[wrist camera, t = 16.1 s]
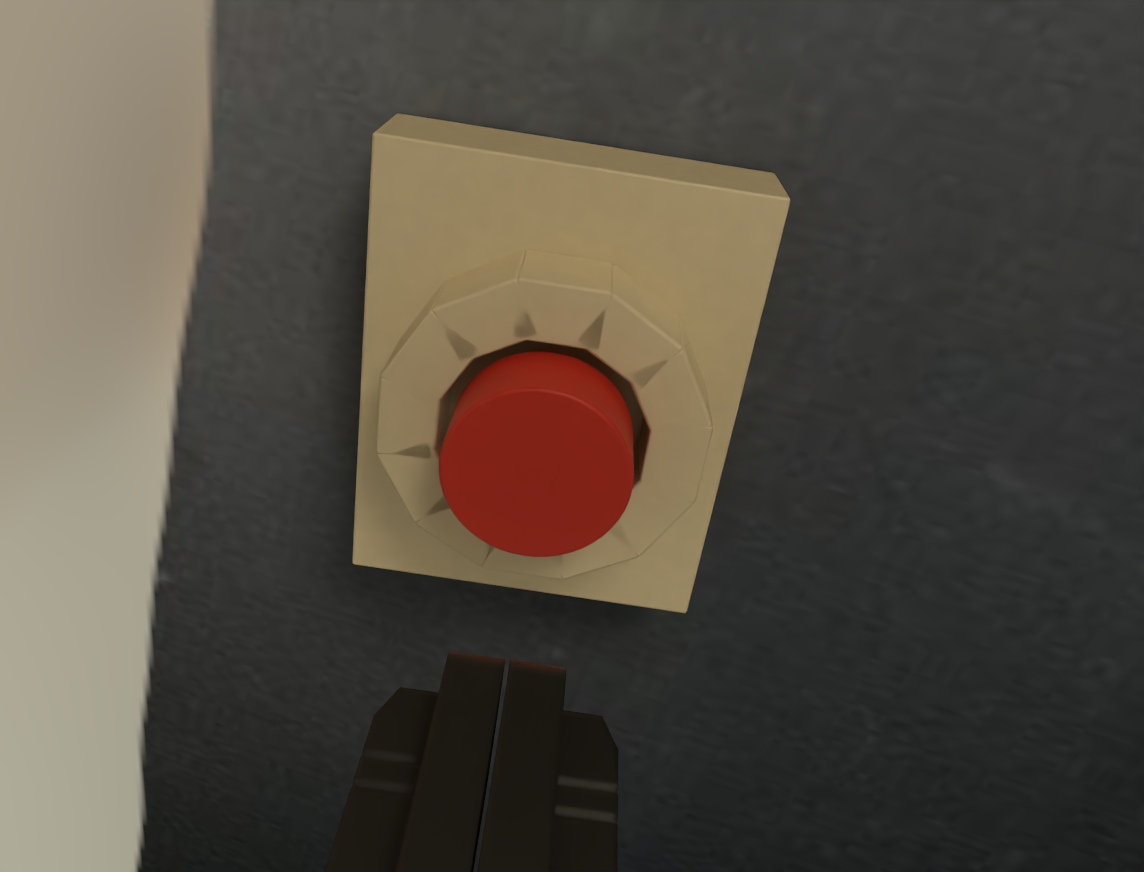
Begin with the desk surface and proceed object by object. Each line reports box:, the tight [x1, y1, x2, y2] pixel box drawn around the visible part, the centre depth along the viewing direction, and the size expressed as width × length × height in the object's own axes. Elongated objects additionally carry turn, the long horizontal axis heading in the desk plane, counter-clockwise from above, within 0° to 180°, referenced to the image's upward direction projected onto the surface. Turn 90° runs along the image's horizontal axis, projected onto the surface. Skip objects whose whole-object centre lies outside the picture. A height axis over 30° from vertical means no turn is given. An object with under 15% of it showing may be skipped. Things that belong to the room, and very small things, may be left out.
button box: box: [353, 113, 790, 613], centre depth 21 cm, size 10×8×4 cm
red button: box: [439, 351, 634, 557], centre depth 19 cm, size 4×4×2 cm
